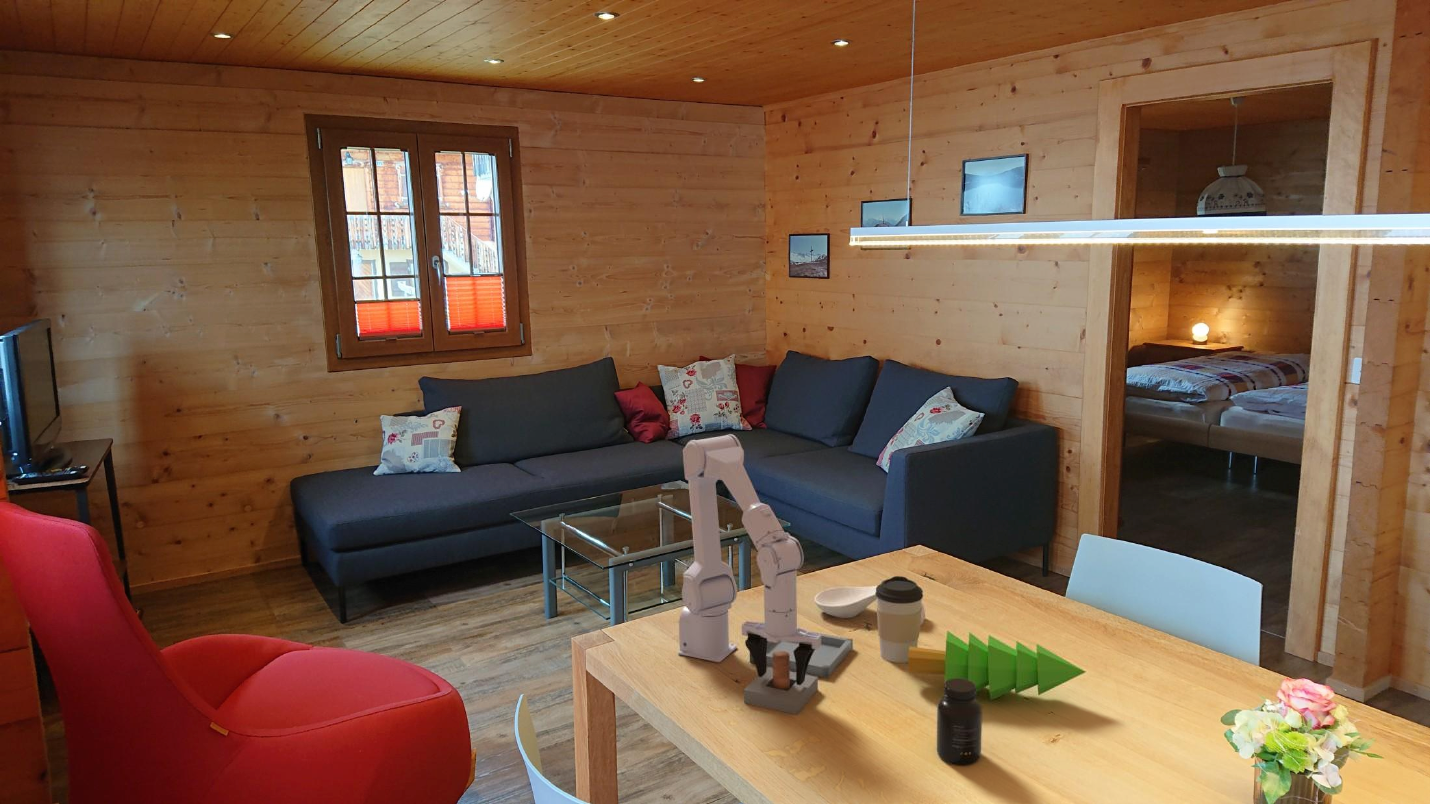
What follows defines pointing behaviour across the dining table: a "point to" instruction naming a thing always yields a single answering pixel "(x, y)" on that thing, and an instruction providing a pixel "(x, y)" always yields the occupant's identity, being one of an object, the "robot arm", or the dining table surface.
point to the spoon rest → (848, 601)
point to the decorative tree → (994, 665)
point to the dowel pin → (781, 670)
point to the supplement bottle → (959, 723)
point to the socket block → (780, 693)
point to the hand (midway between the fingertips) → (781, 678)
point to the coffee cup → (898, 617)
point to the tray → (814, 654)
